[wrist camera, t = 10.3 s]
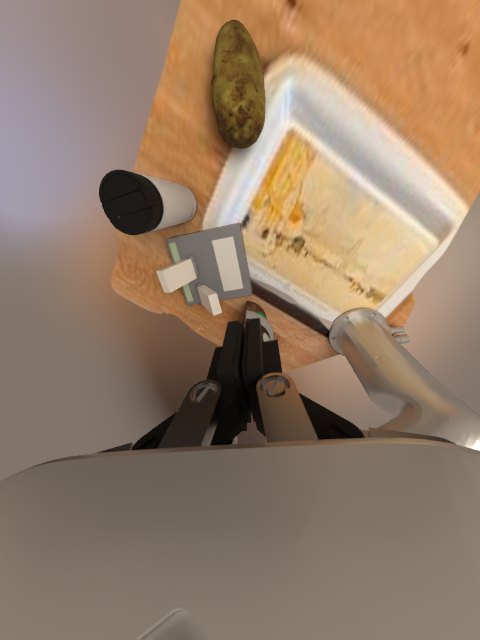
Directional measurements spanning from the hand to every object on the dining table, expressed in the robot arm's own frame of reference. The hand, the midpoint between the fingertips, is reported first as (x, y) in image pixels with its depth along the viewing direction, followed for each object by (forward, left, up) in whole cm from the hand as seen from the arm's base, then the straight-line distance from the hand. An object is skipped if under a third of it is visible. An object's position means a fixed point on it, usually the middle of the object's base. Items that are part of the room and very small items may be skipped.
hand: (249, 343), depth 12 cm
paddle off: (+12, +8, -32) cm, 35 cm away
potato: (-1, -20, -35) cm, 41 cm away
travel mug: (+12, -9, -35) cm, 38 cm away
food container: (+2, +18, -35) cm, 39 cm away
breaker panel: (+9, +3, -35) cm, 36 cm away
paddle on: (+12, +2, -32) cm, 34 cm away
